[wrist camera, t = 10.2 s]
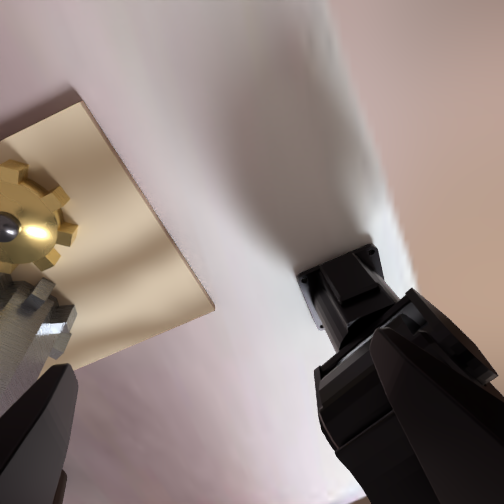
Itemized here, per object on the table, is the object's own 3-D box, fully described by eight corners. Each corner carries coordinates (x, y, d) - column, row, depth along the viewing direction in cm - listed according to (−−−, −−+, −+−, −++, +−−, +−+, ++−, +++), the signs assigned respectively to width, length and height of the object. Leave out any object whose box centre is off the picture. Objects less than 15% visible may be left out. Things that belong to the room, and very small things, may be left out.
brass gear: (101, 237, 20) (93, 252, 19) (9, 278, 21) (-5, 296, 19) (21, 137, 17) (4, 144, 15) (-87, 189, 17) (-114, 202, 16)
